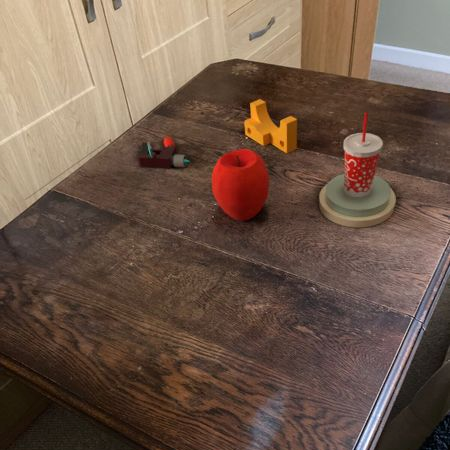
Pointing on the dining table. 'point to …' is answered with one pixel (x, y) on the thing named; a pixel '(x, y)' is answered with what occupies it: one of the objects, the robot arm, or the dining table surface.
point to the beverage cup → (360, 161)
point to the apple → (240, 183)
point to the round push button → (357, 204)
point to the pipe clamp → (271, 128)
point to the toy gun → (161, 156)
